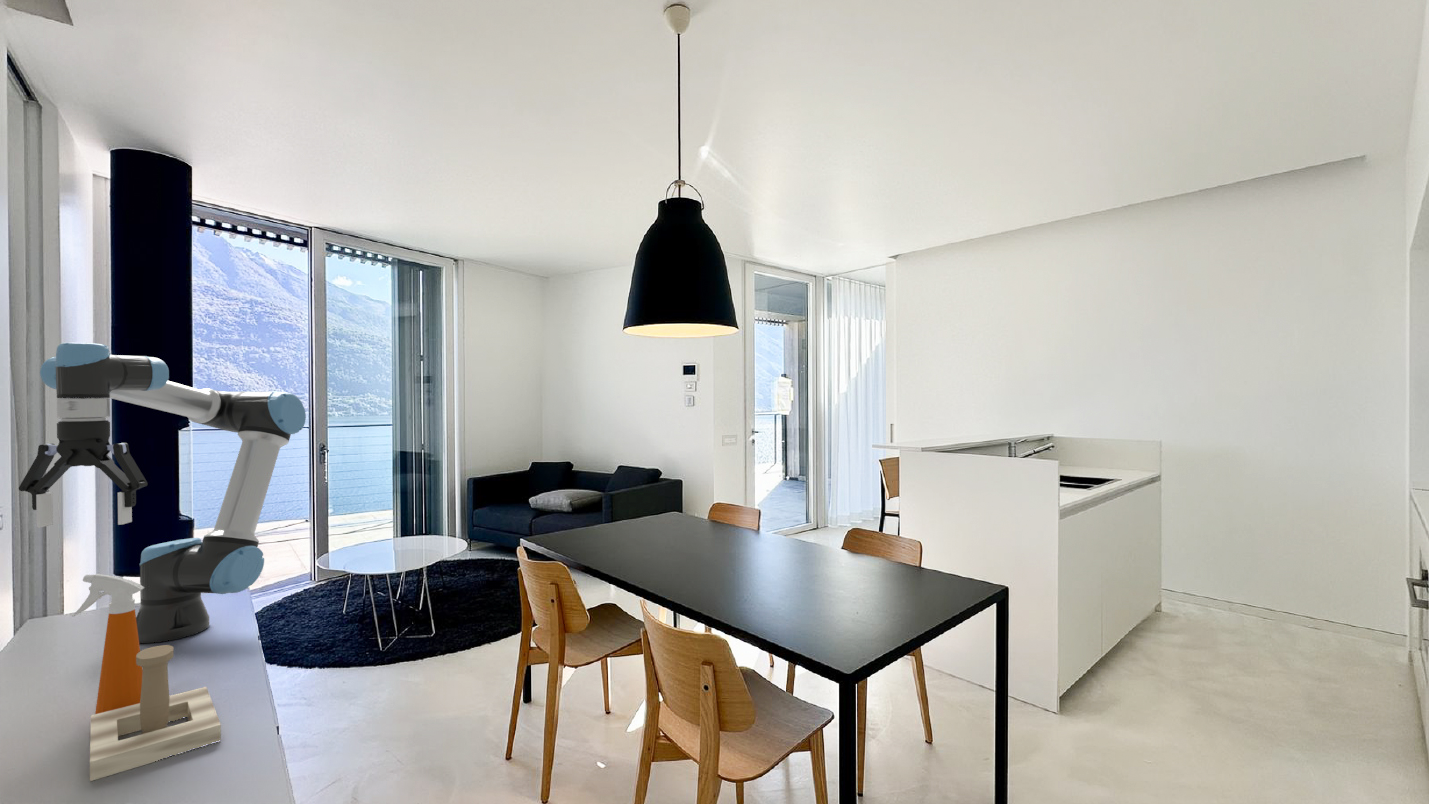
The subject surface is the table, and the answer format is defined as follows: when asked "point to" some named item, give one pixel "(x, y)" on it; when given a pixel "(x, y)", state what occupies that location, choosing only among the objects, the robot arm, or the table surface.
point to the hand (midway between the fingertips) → (85, 524)
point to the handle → (154, 687)
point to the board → (151, 734)
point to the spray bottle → (117, 642)
